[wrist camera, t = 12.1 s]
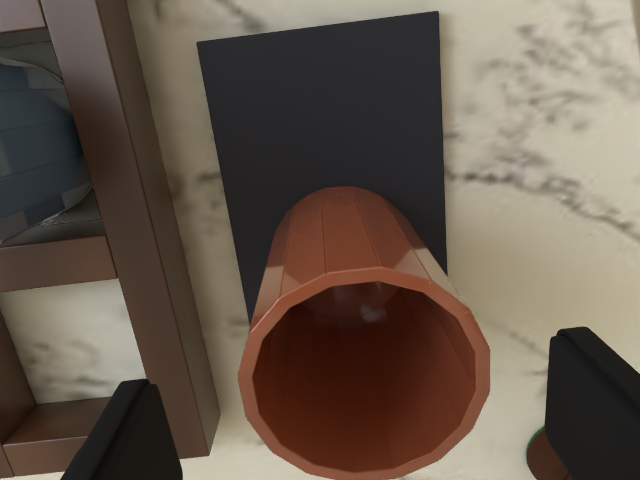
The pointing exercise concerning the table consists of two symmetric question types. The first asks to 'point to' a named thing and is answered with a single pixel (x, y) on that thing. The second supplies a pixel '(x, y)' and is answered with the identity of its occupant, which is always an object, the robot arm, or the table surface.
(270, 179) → the placemat
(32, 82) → the cup
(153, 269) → the holder
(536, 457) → the chess piece
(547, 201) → the table surface
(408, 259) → the cup
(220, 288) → the table surface
